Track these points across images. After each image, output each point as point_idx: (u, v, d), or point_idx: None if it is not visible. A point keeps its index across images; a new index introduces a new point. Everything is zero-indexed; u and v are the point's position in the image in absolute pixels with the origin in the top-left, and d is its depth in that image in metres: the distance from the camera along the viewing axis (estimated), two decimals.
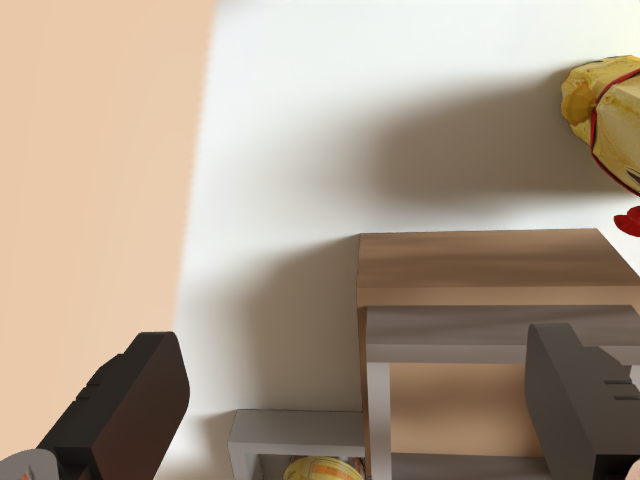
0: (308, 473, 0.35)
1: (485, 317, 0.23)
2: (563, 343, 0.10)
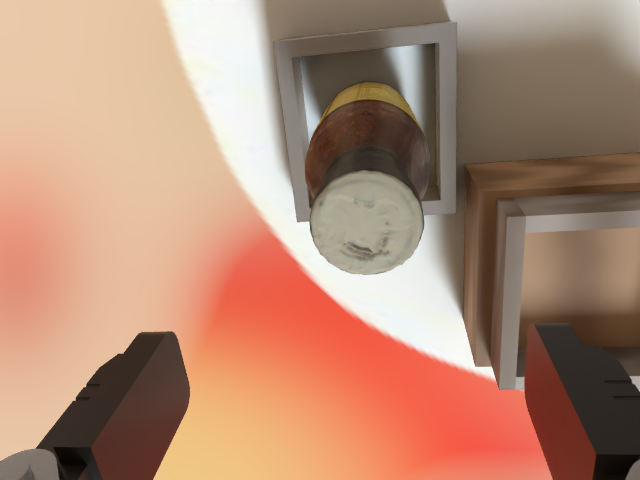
0: None
1: None
2: (563, 343, 0.10)
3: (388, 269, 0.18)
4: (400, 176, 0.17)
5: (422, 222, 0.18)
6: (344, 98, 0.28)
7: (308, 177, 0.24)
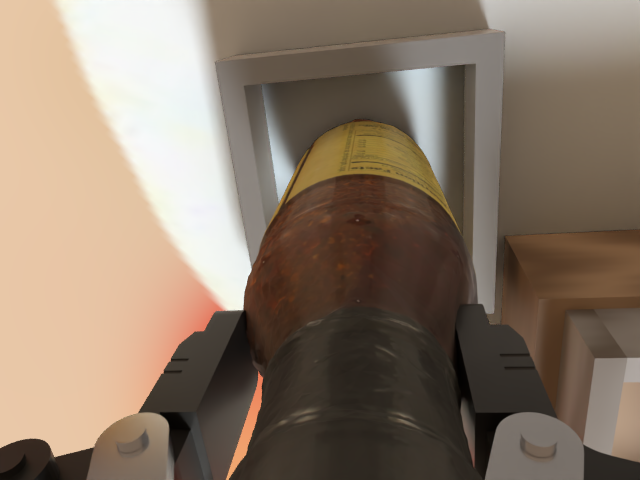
0: None
1: None
2: (472, 321, 0.11)
3: None
4: None
5: None
6: (322, 161, 0.16)
7: (247, 334, 0.12)
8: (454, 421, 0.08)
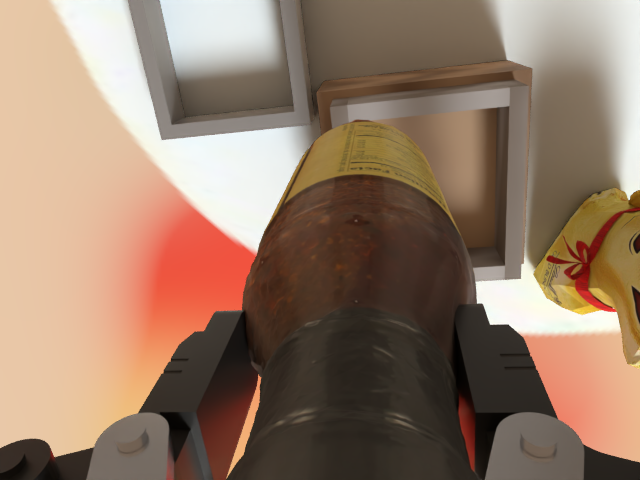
0: None
1: None
2: (472, 321, 0.11)
3: None
4: None
5: None
6: (322, 161, 0.16)
7: None
8: (451, 422, 0.08)
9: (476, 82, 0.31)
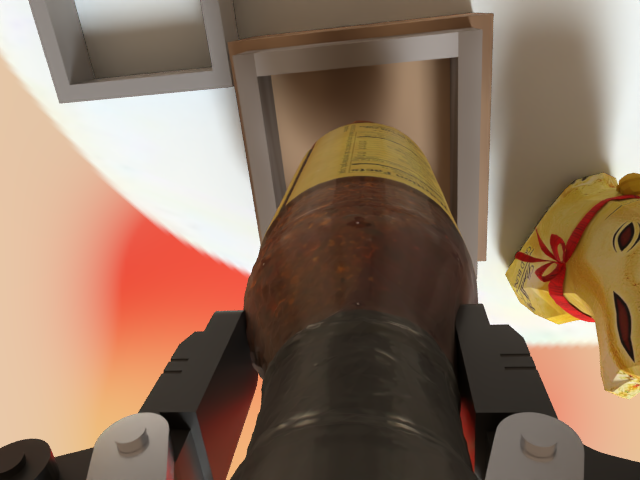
0: None
1: None
2: (472, 321, 0.11)
3: None
4: None
5: None
6: (323, 162, 0.16)
7: (247, 336, 0.12)
8: (453, 425, 0.08)
9: (423, 31, 0.25)
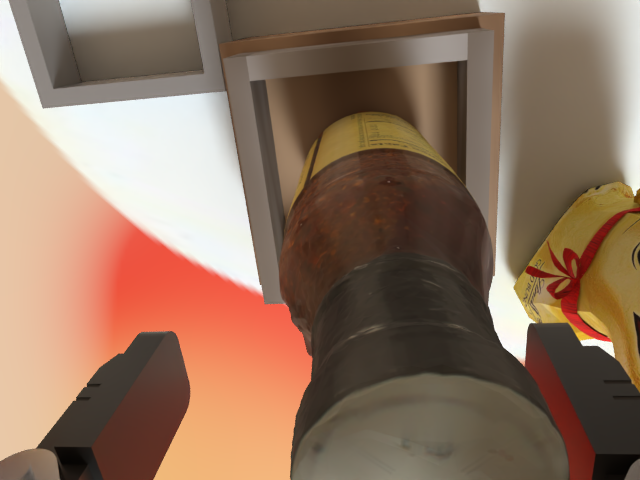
0: None
1: None
2: (563, 343, 0.10)
3: None
4: (513, 375, 0.07)
5: None
6: (339, 142, 0.17)
7: (285, 294, 0.13)
8: (497, 338, 0.09)
9: (429, 31, 0.23)
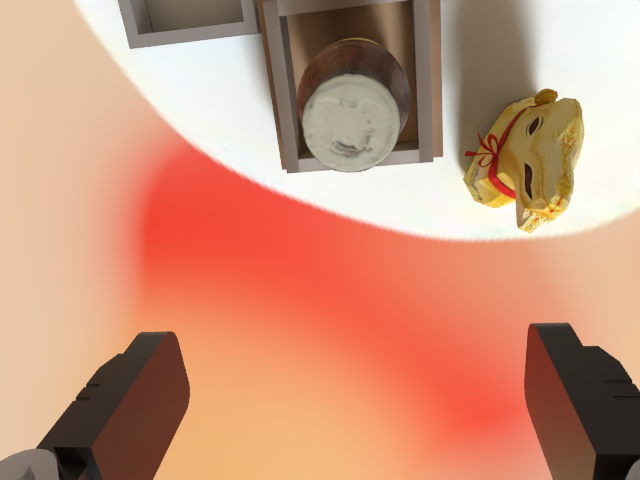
0: None
1: None
2: (563, 343, 0.10)
3: (371, 165, 0.21)
4: (379, 79, 0.20)
5: (399, 120, 0.20)
6: None
7: (300, 107, 0.26)
8: None
9: None
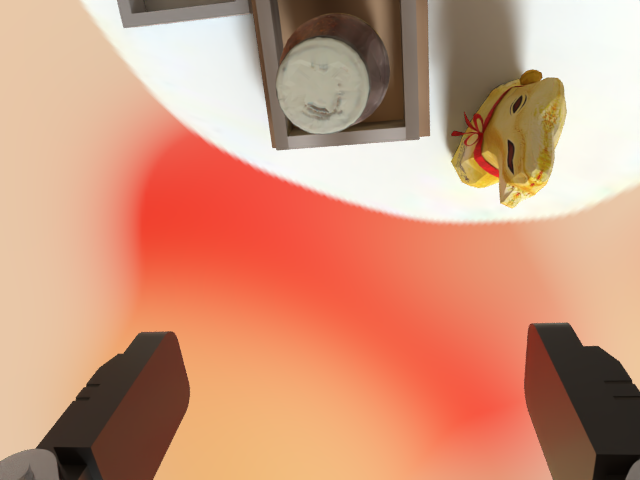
0: None
1: None
2: (563, 343, 0.10)
3: (342, 127, 0.22)
4: (349, 44, 0.21)
5: (368, 83, 0.21)
6: None
7: None
8: None
9: None
